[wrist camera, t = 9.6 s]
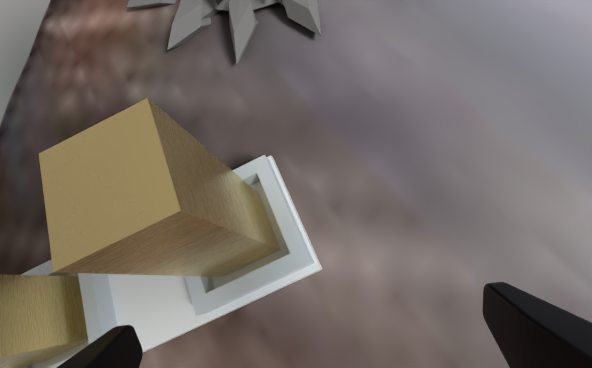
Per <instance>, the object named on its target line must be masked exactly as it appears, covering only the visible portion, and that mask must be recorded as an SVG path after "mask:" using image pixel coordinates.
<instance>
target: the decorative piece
mask: <svg viewBox="0 0 592 368" xmlns="http://www.w3.org/2000/svg"><path fill="white" fill-rule="evenodd" d="M176 1H177V0H130V1H129V3H128V5H127V7H126V8H149V7H155V6H162V5H169V4H175V2H176ZM276 3H280V4H281V5H283V6H285V9H286V12H287V17H288V18H290V19H292V20H294V21H295V22H297V23H299V24H301V25H302V26H304V27H306V28H308V29H309V30H311V31H313V32H315V33H316V34H318V35H320V36H321V29H320V20H319V10H318V1H317V0H181V1H180V4H179V7H178V9H177V12H176V15H175V18H174V20H173V23H172V28H171V33H170V38H169V44H168V49H167V50H169V49H172V48H174V47H177V46H180V45H182V44H184V43H185V42H187V41H188V40H189V39H191V38H192V37H194V36H195V35H196V34H198V33H199V32H201V31H202V30H204V29H205V28H206V27H208V26H209V25H211V17H213V16H214V15H215V14H217V13H218V12H219V11H221V10H225V11H229V21H230V31H231V36H232V42H233V47H234V53H235V58H236V64H237V63H238V62H239V61H240V59H241V58H242V57H243V55H244V53H245V50H246V48H247V46H248V44H249V42H250V40H251V38H252V36H253V33H254V31H255V29H256V27H257V25H258V21H257V19H256V17H255V10H258V9H261V8H264V7H267V6H270V5H273V4H276Z"/></svg>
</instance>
